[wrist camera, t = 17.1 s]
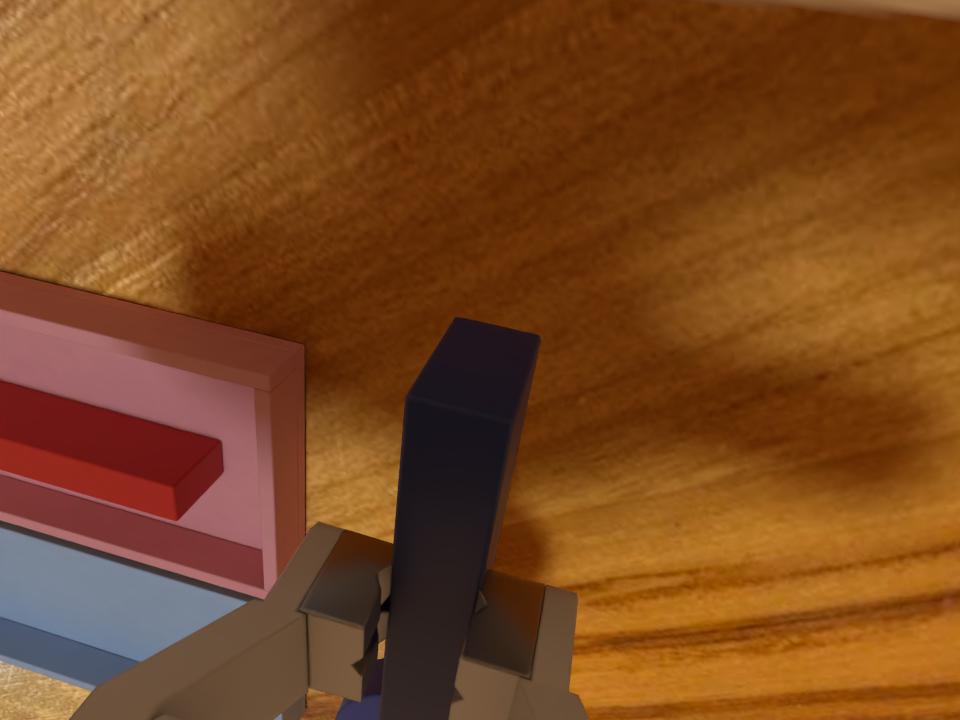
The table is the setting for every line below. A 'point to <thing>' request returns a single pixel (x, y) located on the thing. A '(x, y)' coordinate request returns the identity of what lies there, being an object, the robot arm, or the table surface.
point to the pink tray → (173, 403)
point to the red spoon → (105, 453)
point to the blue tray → (96, 609)
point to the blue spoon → (448, 512)
